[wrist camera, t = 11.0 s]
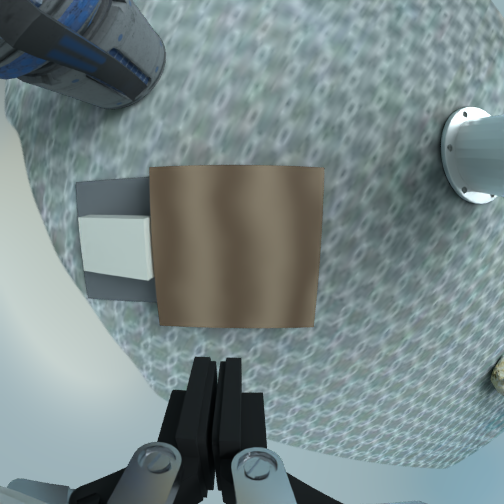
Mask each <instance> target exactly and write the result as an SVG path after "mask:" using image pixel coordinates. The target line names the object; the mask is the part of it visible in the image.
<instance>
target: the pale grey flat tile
mask: <svg viewBox="0 0 504 504" xmlns="http://www.w3.org/2000/svg"><path fill="white" fill-rule="evenodd" d="M78 222H79V233H80V243H81V251H82V259H83V267H84V271H89V272H95V273H101V274H108V275H114V276H121V277H127V278H134V279H141V280H147V281H148V280H150V279H151V278H153V277H155V275H154V263H153V249H152V233H151V216H139V215H86V216H82V217H78Z"/></svg>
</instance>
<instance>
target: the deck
mask: <svg viewBox="0 0 504 504" xmlns="http://www.w3.org/2000/svg"><path fill="white" fill-rule="evenodd" d="M149 176H150V213H151V233H152V249H153V263H154V275H155V286H156V296H157V305H158V314H159V322H160V325H161V326H181V327H210V328H300V327H314V318H315V308H316V298H317V287H318V276H319V263H320V249H321V234H322V216H323V195H324V168H320V167H300V166H271V165H195V166H166V167H149Z"/></svg>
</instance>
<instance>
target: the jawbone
mask: <svg viewBox="0 0 504 504" xmlns="http://www.w3.org/2000/svg"><path fill="white" fill-rule="evenodd" d="M491 382H492V383H493V385H494V386H495V388H496V390H497V391H498V393H500V394H501V395H503V396H504V356H503V357H502V358H501V359H500V360H499V361H498V363H497V364H496V366H495V368H494V369H493V372H492V375H491Z"/></svg>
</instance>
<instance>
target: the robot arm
mask: <svg viewBox="0 0 504 504" xmlns="http://www.w3.org/2000/svg"><path fill="white" fill-rule="evenodd" d="M441 156H442V163H443V167H444V171H445V173H446V176H447V179H448V181H449V183H450V184H451V186H452V188H453V189H454V190H455V192H456V193H457V194H458V195H459V196H460V197H461V198H463V199H464V200H466V201H468V202H471V203H475V204H486V203H488V202H491V201H492V200H494V199H495V198H496V197H497V196H501V197H504V115H498V116H491V115H489V114H488V113H487V112H485V111H484V110H482V109H480V108H477V107H464V108H460V109H458V110H457V111H455V112H454V113H453V114H452V115H451V116H450V117H449V118H448V120H447V122H446V124H445V126H444V129H443V133H442V138H441ZM215 472H216V478H217V486H218V490H219V491H222V497H223V502H224V503H226V504H343V503H341V502H339V501H337V500H335V499H333V498H331V497H329V496H327V495H325V494H323V493H322V492H320V491H318V490H316V489H314V488H312V487H311V486H309V485H307V484H305V483H304V482H302V481H300V480H298V479H297V478H295V477H293V476H292V475H290V474H288V473H287V472H286V470H285V467H284V464H283V461H282V460H281V458H280V456H279V455H277V454H276V453H275V452H273V451H271V450H269V449H267V441H266V428H265V414H264V401H263V393H242V370H241V358H226V361H221V362H220V369H219V377H218V383H217V367H216V361H211V359H210V357H195V358H194V362H193V366H192V370H191V374H190V378H189V382H188V386H187V391H185V390H173V391H172V393H171V396H170V399H169V403H168V406H167V410H166V413H165V417H164V420H163V423H162V427H161V431H160V434H159V437H158V441H157V442H151V443H148V444H145V445H143V446H141V447H140V448H138V450H137V451H136V452H135V453H134V455H133V457H132V459H131V460H130V462H129V464H128V466H127V467H126V468H124V469H121V470H119V471H117V472H115V473H112V474H110V475H108V476H105V477H103V478H101V479H98V480H96V481H94V482H91V483H88V484H86V485H83V486H80V487H79V488H77V489H70V488H69V486H63V485H56V484H49V483H43V482H38V481H32V480H27V479H15V480H13V481H12V482H10V483H9V485H8V486H7V488H5V487H2V486H0V504H198V503H200V502H201V501H203V497H206V498H207V492H208V490H213V489H214V478H215ZM384 504H426V503H424V502H421V501H409V502H399V503H384Z"/></svg>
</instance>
